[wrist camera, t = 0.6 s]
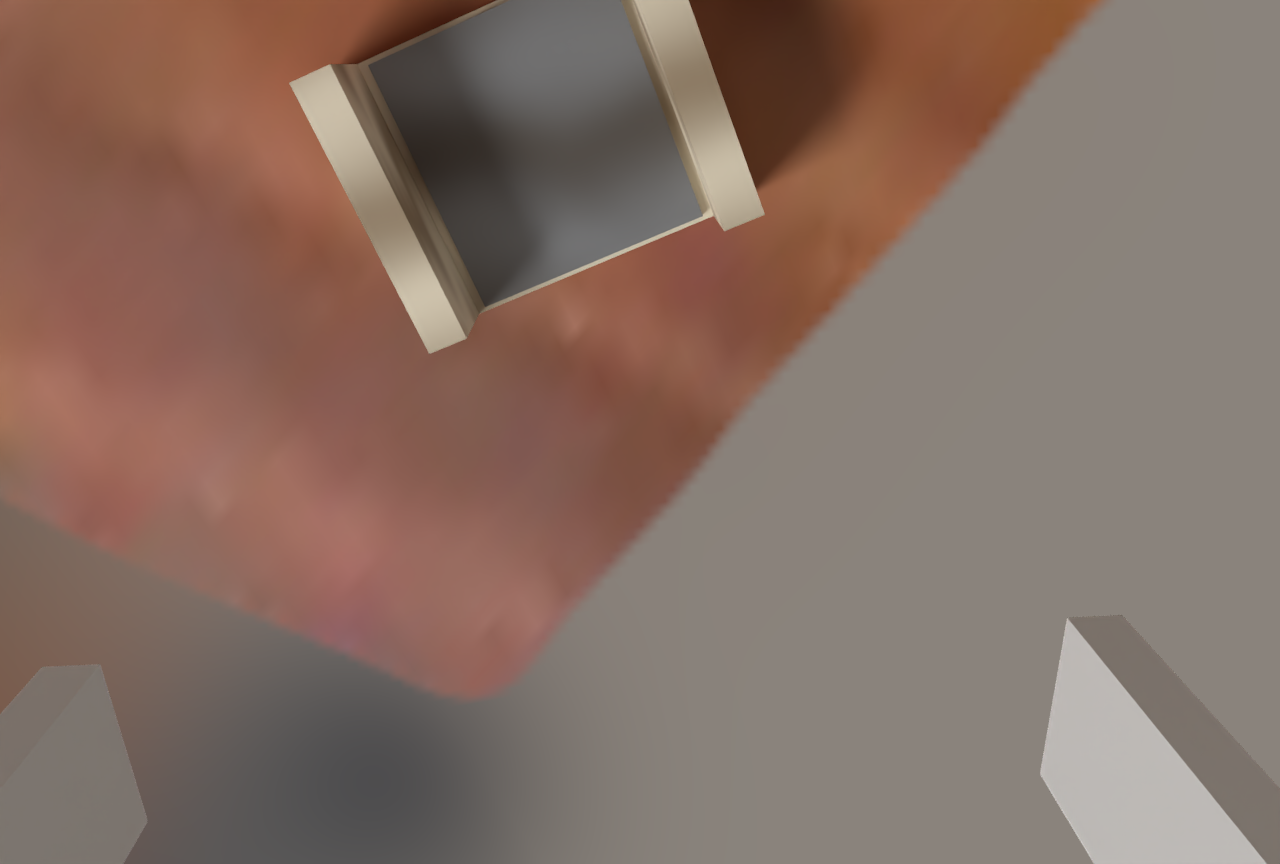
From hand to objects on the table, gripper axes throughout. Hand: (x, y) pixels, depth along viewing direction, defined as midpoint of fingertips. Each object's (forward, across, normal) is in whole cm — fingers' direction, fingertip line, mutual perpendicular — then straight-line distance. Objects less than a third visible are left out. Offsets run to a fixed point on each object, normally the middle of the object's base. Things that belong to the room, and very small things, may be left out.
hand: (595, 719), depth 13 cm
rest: (+27, -2, +5) cm, 27 cm away
